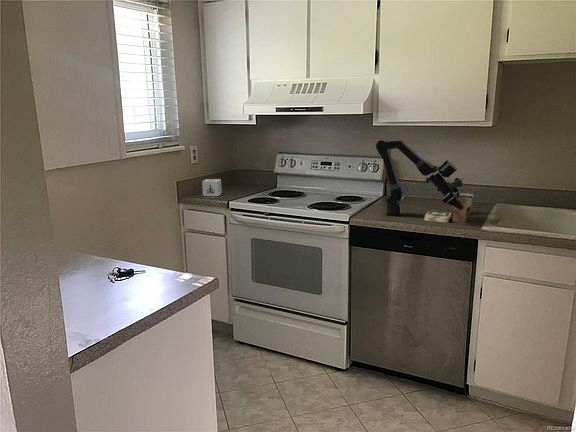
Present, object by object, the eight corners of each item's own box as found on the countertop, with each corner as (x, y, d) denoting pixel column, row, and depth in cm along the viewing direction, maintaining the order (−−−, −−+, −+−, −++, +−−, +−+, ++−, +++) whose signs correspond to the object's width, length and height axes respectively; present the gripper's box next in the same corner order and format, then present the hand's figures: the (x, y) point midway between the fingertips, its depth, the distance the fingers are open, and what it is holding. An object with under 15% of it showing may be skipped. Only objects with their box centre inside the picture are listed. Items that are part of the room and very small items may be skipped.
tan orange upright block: (452, 221, 230) (453, 199, 227) (453, 219, 234) (455, 197, 232) (464, 222, 227) (466, 200, 225) (465, 220, 232) (467, 198, 230)
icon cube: (206, 194, 311) (205, 179, 308) (221, 194, 310) (220, 179, 308) (203, 197, 301) (202, 181, 299) (218, 197, 300) (217, 181, 298)
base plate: (424, 220, 233) (424, 213, 232) (428, 215, 242) (428, 209, 242) (447, 222, 228) (448, 215, 227) (451, 217, 238) (451, 211, 237)
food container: (467, 211, 252) (469, 192, 249) (472, 213, 246) (474, 194, 243) (445, 211, 251) (446, 193, 249) (449, 214, 245) (450, 195, 243)
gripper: (451, 175, 219) (474, 200, 217) (456, 170, 235) (478, 193, 233) (432, 191, 224) (455, 215, 222) (439, 185, 241) (460, 208, 238)
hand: (463, 207), depth 229 cm, fingers closed on tan orange upright block, 5 cm apart
